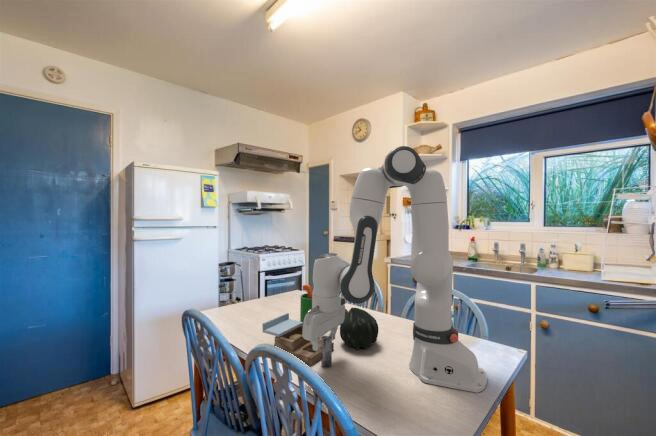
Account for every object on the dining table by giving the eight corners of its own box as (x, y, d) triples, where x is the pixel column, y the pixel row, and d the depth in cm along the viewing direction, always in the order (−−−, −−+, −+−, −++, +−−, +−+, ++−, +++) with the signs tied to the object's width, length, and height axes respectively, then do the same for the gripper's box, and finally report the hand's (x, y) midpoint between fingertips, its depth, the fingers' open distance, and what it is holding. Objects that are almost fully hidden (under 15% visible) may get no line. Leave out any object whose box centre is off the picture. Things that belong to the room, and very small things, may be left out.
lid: (303, 324, 117) (303, 316, 117) (278, 336, 105) (278, 327, 105) (287, 320, 121) (287, 313, 121) (262, 332, 109) (262, 323, 109)
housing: (333, 349, 109) (333, 333, 109) (311, 365, 97) (311, 347, 97) (299, 339, 118) (299, 324, 118) (274, 353, 106) (274, 336, 106)
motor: (318, 339, 119) (318, 288, 118) (296, 337, 120) (296, 287, 120) (323, 329, 129) (323, 283, 128) (303, 327, 130) (303, 282, 130)
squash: (390, 328, 115) (366, 296, 120) (377, 344, 102) (350, 308, 107) (365, 346, 121) (342, 315, 125) (349, 364, 108) (325, 328, 112)
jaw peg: (333, 364, 98) (333, 337, 98) (328, 368, 95) (328, 340, 95) (325, 361, 100) (325, 335, 100) (319, 366, 97) (319, 338, 97)
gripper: (314, 313, 87) (313, 359, 88) (348, 297, 104) (347, 336, 105) (298, 309, 91) (296, 353, 91) (333, 294, 108) (332, 332, 108)
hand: (324, 344), depth 98 cm, fingers open, 8 cm apart
